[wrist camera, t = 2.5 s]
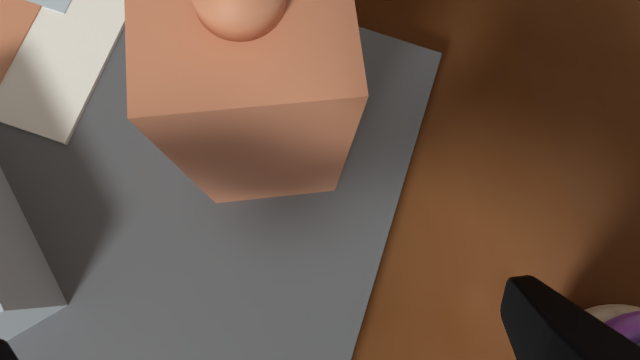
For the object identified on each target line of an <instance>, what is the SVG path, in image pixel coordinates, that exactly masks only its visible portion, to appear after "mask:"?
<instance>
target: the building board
mask: <svg viewBox="0 0 640 360" xmlns="http://www.w3.org/2000/svg"><path fill="white" fill-rule="evenodd" d="M358 27H359V26H358ZM359 34H360V41H361V48H362V54H363V61H364V68H365V75H366V81H367V88H368V95H369V97H368V99H367V102H366V105H365V108H364V111H363V113H362V116H361V119H360V122H359V125H358V127H357V130H356V133H355V136H354V139H353V141H352V144H351V147H350V150H349V152H348V155H347V158H346V161H345V164H344V166H343V169H342V172H341V175H340V178H339V180H338V183H337V186H336V189H335V191H327V192H318V193H308V194H299V195H289V196H280V197H270V198H261V199H251V200H242V201H232V202H223V203H215V202H214V201H213V200H212V199H211V198H210V197H209V196H208V195H207V194H206V193H204V192H203V191H202V190H201V189H200V188H199V187H198V186H197V185H196V184H195V183H194V182H193V181H192V180H191V179H190V178H189V177H188V176H187V175H186V174H185V173H184V172H183V171H182V170H180V169H179V168H178V167H177V166H176V165H175V164H174V163H173V162H172V161H171V160H170V159H169V158H168V157H167V156H166V155H165V154H164V153H163V152H162V151H161V150H160V149H159V148H158V147H156V146H155V145H154V144H153V143H152V142H151V141H150V140H149V139H148V138H147V137H146V136H145V135H144V134H143V133H142V132H141V131H140V130H139V129H138V128H137V127H136V126H135V125H134V124H132V123H131V122H130V121H129V120H128V119H127V88H126V49H125V10H124V0H0V167H1V169H2V171H3V173H4V175H5V177H6V179H7V181H8V183H9V185H10V187H11V189H12V191H13V193H14V196H15V198H16V200H17V202H18V204H19V206H20V208H21V210H22V212H23V214H24V216H25V218H26V220H27V222H28V224H29V226H30V228H31V230H32V232H33V234H34V236H35V238H36V241H37V243H38V245H39V247H40V249H41V251H42V253H43V255H44V257H45V259H46V261H47V263H48V265H49V267H50V269H51V271H52V273H53V275H54V277H55V279H56V281H57V283H58V285H59V288H60V290H61V292H62V294H63V296H64V298H65V300H66V302H67V304H68V306H66V307H64V308H63V309H61V310H59V311H57V312H56V313H54V314H52V315H51V316H49V317H47V318H45V319H44V320H42V321H40V322H39V323H37V324H35V325H33V326H32V327H30V328H28V329H27V330H25V331H23V332H21V333H20V334H18V335H16V336H15V337H13V338H11V339H9V340H8V341H7V342H8V343H9V345H10V347H11V348H12V350H13V351H14V353H15V354H16V356H17V358H18V359H19V360H351V358H352V354H353V351H354V348H355V344H356V341H357V337H358V334H359V331H360V327H361V324H362V321H363V317H364V314H365V311H366V307H367V304H368V300H369V297H370V294H371V290H372V287H373V284H374V280H375V277H376V274H377V270H378V267H379V264H380V260H381V257H382V253H383V250H384V247H385V243H386V240H387V237H388V233H389V230H390V227H391V223H392V220H393V217H394V213H395V210H396V206H397V203H398V200H399V196H400V193H401V190H402V186H403V183H404V180H405V176H406V173H407V169H408V166H409V163H410V159H411V156H412V153H413V149H414V146H415V143H416V139H417V136H418V133H419V129H420V126H421V122H422V119H423V116H424V112H425V109H426V106H427V102H428V99H429V96H430V92H431V89H432V85H433V82H434V79H435V75H436V72H437V69H438V65H439V62H440V59H441V55H442V53H440V52H437V51H433V50H430V49H427V48H424V47H421V46H418V45H415V44H412V43H409V42H405V41H402V40H399V39H396V38H393V37H390V36H387V35H384V34H381V33H377V32H374V31H371V30H368V29H365V28H362V27H359Z"/></svg>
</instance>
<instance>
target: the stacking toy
mask: <svg viewBox="0 0 640 360" xmlns="http://www.w3.org/2000/svg"><path fill="white" fill-rule="evenodd" d="M585 311H587V312H589V313H590V314H592V315H593V316H595V317H596V318H598V319H599V320H601V321H602V322H604V323H605V324H607V325H608V326H610V327H611V328H613V329H614V330H616V331H618V332H619V333H621V334H622V335H624V336H625V337H627V338H628V339H630V340H631V341H633V342H634V343H636V344H637V345H639V346H640V307H637V306H632V305H625V304H608V305H600V306H595V307H591V308H588V309H585Z"/></svg>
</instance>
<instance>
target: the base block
mask: <svg viewBox="0 0 640 360" xmlns="http://www.w3.org/2000/svg"><path fill="white" fill-rule="evenodd" d="M66 306H68V304H67V302H66V300H65V298H64V296H63V294H62V292H61V290H60V288H59V285H58V283H57V281H56V279H55V277H54V275H53V273H52V271H51V269H50V267H49V265H48V263H47V261H46V259H45V257H44V255H43V253H42V251H41V249H40V247H39V245H38V243H37V241H36V238H35V236H34V234H33V232H32V230H31V228H30V226H29V224H28V222H27V220H26V218H25V216H24V214H23V212H22V210H21V208H20V206H19V204H18V202H17V200H16V198H15V196H14V193H13V191H12V189H11V187H10V185H9V183H8V181H7V179H6V177H5V175H4V173H3V171H2V169H1V167H0V339H3V340H5V341H8V340H9V339H11V338H13V337H15V336H16V335H18V334H20V333H21V332H23V331H25V330H27V329H28V328H30V327H32V326H33V325H35V324H37V323H39V322H40V321H42V320H44V319H45V318H47V317H49V316H51V315H52V314H54V313H56V312H57V311H59V310H61V309H63V308H64V307H66Z"/></svg>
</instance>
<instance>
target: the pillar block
mask: <svg viewBox="0 0 640 360" xmlns="http://www.w3.org/2000/svg"><path fill="white" fill-rule="evenodd" d="M124 10H125V49H126V88H127V119H128V120H129V121H130V122H131V123H132V124H134V125H135V126H136V127H137V128H138V129H139V130H140V131H141V132H142V133H143V134H144V135H145V136H146V137H147V138H148V139H149V140H150V141H151V142H152V143H153V144H154V145H155V146H156V147H158V148H159V149H160V150H161V151H162V152H163V153H164V154H165V155H166V156H167V157H168V158H169V159H170V160H171V161H172V162H173V163H174V164H175V165H176V166H177V167H178V168H179V169H180V170H182V171H183V172H184V173H185V174H186V175H187V176H188V177H189V178H190V179H191V180H192V181H193V182H194V183H195V184H196V185H197V186H198V187H199V188H200V189H201V190H202V191H203V192H204V193H206V194H207V195H208V196H209V197H210V198H211V199H212V200H213V201H214V202H215V203H223V202H232V201H242V200H251V199H261V198H270V197H280V196H289V195H299V194H308V193H318V192H327V191H335V189H336V186H337V183H338V180H339V178H340V175H341V172H342V169H343V166H344V164H345V161H346V158H347V155H348V152H349V150H350V147H351V144H352V141H353V139H354V136H355V133H356V130H357V127H358V125H359V122H360V119H361V116H362V113H363V111H364V108H365V105H366V102H367V99H368V97H369V95H368V88H367V81H366V75H365V68H364V61H363V54H362V48H361V41H360V34H359V27H358V20H357V14H356V7H355V0H124Z"/></svg>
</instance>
